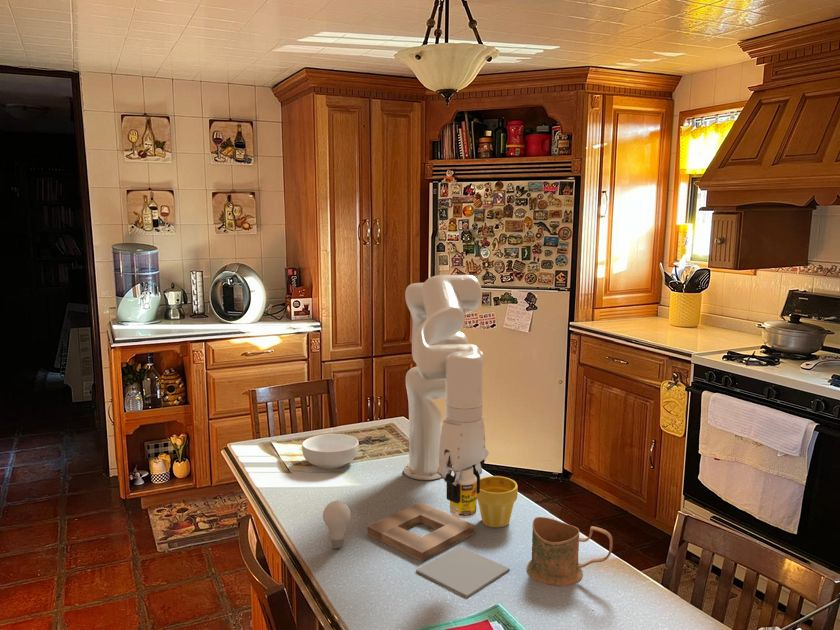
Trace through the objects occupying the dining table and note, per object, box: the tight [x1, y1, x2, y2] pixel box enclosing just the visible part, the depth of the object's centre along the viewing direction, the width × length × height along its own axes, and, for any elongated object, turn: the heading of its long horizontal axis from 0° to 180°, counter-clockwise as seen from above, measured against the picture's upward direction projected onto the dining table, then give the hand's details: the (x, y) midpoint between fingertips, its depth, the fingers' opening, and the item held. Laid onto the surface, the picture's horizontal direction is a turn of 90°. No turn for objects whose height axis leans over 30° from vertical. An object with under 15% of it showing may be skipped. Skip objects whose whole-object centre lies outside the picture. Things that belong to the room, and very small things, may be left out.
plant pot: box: [477, 475, 519, 528], centre depth 165 cm, size 10×10×10 cm
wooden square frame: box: [366, 502, 476, 562], centre depth 159 cm, size 18×18×2 cm
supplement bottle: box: [449, 466, 478, 519], centre depth 140 cm, size 6×6×10 cm
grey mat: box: [415, 545, 510, 598], centre depth 143 cm, size 14×14×1 cm
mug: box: [526, 516, 614, 587], centre depth 140 cm, size 12×18×12 cm, turn 58°
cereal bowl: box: [301, 433, 360, 470], centre depth 202 cm, size 17×17×7 cm
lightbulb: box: [322, 500, 351, 550], centre depth 152 cm, size 6×6×11 cm
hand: (463, 495), depth 140 cm, fingers closed on supplement bottle, 5 cm apart
